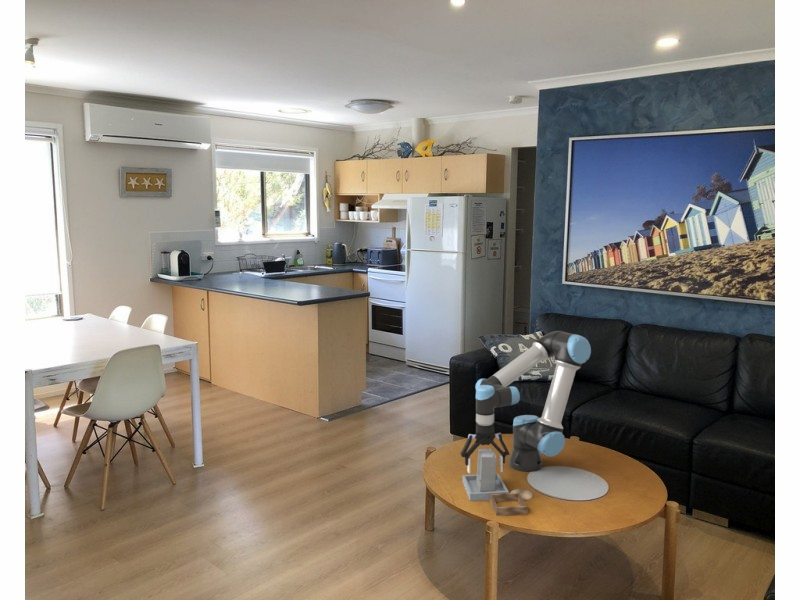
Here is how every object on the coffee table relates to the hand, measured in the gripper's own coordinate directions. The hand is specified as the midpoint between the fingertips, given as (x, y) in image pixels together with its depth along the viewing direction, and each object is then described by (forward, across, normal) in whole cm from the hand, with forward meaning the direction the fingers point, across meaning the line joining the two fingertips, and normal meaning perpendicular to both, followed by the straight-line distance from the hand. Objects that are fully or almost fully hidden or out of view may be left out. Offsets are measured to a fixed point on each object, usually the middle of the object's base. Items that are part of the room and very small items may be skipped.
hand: (484, 471), depth 255 cm
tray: (+8, 0, 0) cm, 8 cm away
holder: (+8, -6, +16) cm, 19 cm away
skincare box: (+7, -1, 0) cm, 7 cm away
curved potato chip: (+8, -14, +6) cm, 17 cm away
